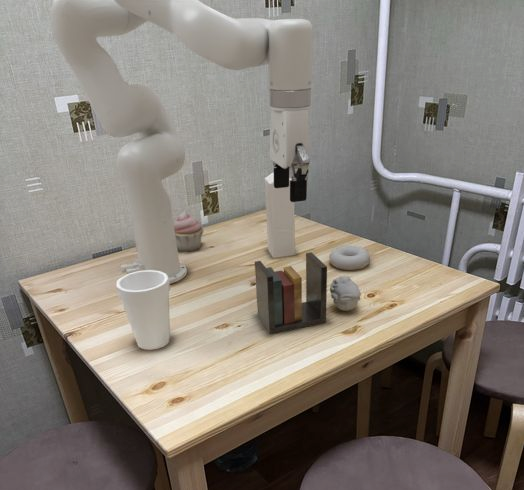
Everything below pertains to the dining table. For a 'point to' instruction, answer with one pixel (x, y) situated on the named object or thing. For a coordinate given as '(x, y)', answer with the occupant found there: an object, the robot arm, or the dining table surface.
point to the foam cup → (147, 306)
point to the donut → (349, 257)
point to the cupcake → (188, 232)
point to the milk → (279, 219)
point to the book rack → (291, 296)
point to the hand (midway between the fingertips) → (289, 193)
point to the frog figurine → (345, 293)
